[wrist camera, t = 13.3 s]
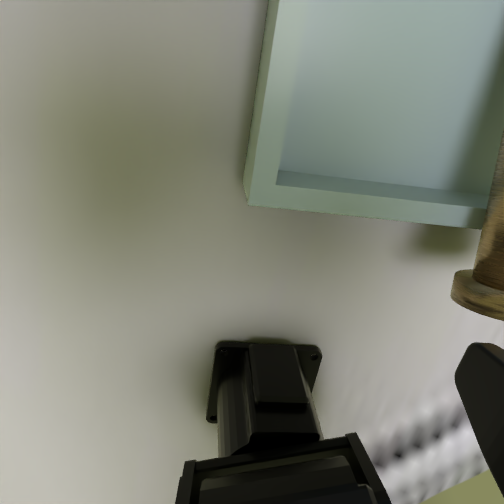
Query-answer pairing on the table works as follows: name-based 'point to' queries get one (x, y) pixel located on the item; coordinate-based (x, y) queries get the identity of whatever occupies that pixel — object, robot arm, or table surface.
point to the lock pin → (487, 256)
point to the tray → (379, 109)
